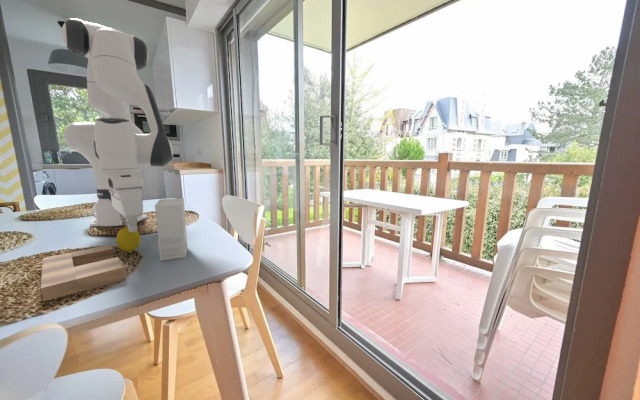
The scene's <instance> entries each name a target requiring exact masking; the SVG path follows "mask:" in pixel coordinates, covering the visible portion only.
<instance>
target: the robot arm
mask: <svg viewBox="0 0 640 400" xmlns="http://www.w3.org/2000/svg"><path fill="white" fill-rule="evenodd" d="M61 37H62V40H63V42H64V44H65V46H66V48H67V49H68V51H70V52H71V53H72V54H74V55H77V56H78V57H80V58H81V57H82V58H86V59H87V58H88V59H87V60H88V61H87V68H86V81H87V82H86V87H87V89H86V90H87V102H88V104H89V106H90V107H91V108H92V109H94V110H95V111H97V112H98V113H100V114H102V115H103V116H104V117H101V118H97V119H95V121H94V122H92V121H91V122H90V121H80V122H70V123H68V124H67V125H66V126H65V128H64V130H63V135H62V136H63V139H64V141H65V144H66V145H67V146H68V147H69V148H70V149H72V150H74V151H75V152H77V153H78V154H81V156H83V157H84V158H85V159H86V161H88V162H89V164H90V166H91V167H92V169H93V173H94V175H95V176H94V177H95V181H96V185H97V188H96V192H95V194H96V197H97V198H98V200H97V201H96V202H94V203H95V204H93V206H92V208H91V209H92V210H91V211H92V213H93V218H92V220H91V222H90V223H89V227H118V226H123V227H126V226H128V230H129V232H135V231H138V225H137V224H138V223H139V222H140V221H142V220H145V219H148V215H146V214H143V212H144V204H143V202H144V199H143V189H142V188H144V186H145V183H144V182H145V181H144V178H142V172H141V171H142V170H141V166H142V167H143V166H145V167H147V166H148V167H149V166H151V167H165V166H166V165H168V164H169V163H170V162H171V161H172V160H173V157H174V149H173V146H172V143H171V141H170V139H169V137H168V136H167V133H166V130H165V125H164V122H163V120H162V117H161V113H160V110H159V107H158V104H157V102H156V99H155V95H154V94H153V91H152V89H151V88H150V86H149V85H147V84H145V83H143V81H142V80H141V79H140V77H139V75H138V71H140V70H142V69H144V68H146V67H147V64H148V61H149V51H148V47H147V45H146V43H145V42H144V41H143V40H142V39H140V38H139V37H137V36H135V35H130V34H128V33H125V32H123V31H121V30H118V29H115V28H113V27H110V26H109V27H107V26H104V25H101V24H98V23H93V22H89V21H84V20H82V19H79V18H71V17H69V18H67V19H65V22H64V23H63V25H62V28H61ZM127 103H130V104H132V105H134V106H136V107H138V108H140V109H141V110H142V111H143V112H144V114H145V118H146V120H147V124H148V127H149V130H150V132H149V133H144V132H143V130H141V128H139V127H138V126H137V125H136V124H135V123H134V122H133V120H132V118H131V117H130V114H129V110H128V107H127V106H128V105H127Z"/></svg>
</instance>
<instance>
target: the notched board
mask: <svg viewBox="0 0 640 400" xmlns="http://www.w3.org/2000/svg"><path fill="white" fill-rule="evenodd" d="M41 264H42V265H41V280H40V291H41V295H42V301H43V302H44V301H46V300H50V299H54V298H58V297H61V296H65V295H68V294H72V295H75V294H78V293H77V292H79V293H83V292H87V291H89V290H93V289H97V288H100V287H104V286H107V285H111V284H115V283H117V282H121V281H125V280H126V279H127V276H126V270H125V266H124V264H123V263H122V261H121V259H120V258H119V256H117V257H114V249H113V246H111V244H108V245H103V246H96V247H92V248H88V249H87V248H86V249H82V250H76V251H71V252H66V253H61V254H57V255H56V254H55V255H52V256H51V255H50V256H47V257H46V256H45V257H42V263H41ZM74 293H75V294H74ZM68 296H69V295H68ZM65 297H66V296H65ZM61 298H62V297H61ZM58 299H59V298H58ZM54 300H55V299H54Z"/></svg>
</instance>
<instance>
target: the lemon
mask: <svg viewBox="0 0 640 400" xmlns="http://www.w3.org/2000/svg"><path fill="white" fill-rule="evenodd" d="M141 238H142V237H141V234H140V232H139V231H138V230H137V231H135V232H129V230H128V226H127V225H125V226H124V227H123V228H122V229H120V230H119V231H118V232H117V234H116V241H115V242H116V245H117V248H118V249H119V250H120V251H122V252H127V253H129V254H131V253H133V252H134V251H136V250H137V249H138V248H139V247H140V245H141V241H142V240H141Z"/></svg>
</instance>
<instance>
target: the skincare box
mask: <svg viewBox="0 0 640 400" xmlns="http://www.w3.org/2000/svg"><path fill="white" fill-rule="evenodd" d="M154 209H155V220H156V230H157V242H158V250H159V251H158V252H159V261H160V262H162V261H163V262H164V261H170V260H178V259H186V258H187V253H188V237H187V236H188V235H187V224H186V212H185V211H186V209H185V199H184V197H181V198H179V197H178V198H161V199H159V200H158V201H157V203H155V205H154Z"/></svg>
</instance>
